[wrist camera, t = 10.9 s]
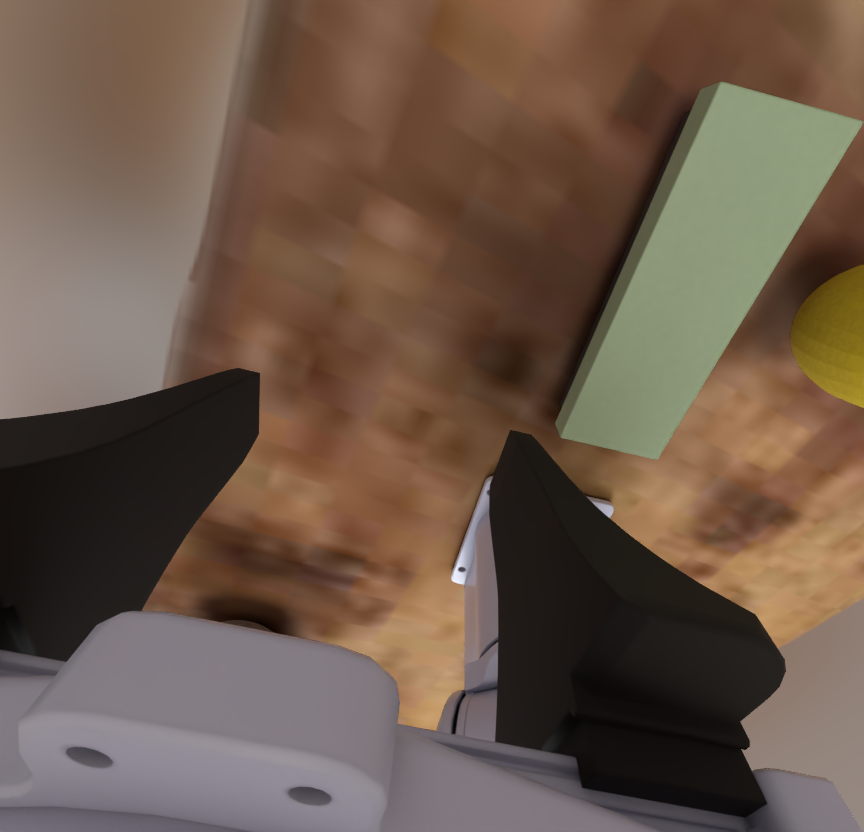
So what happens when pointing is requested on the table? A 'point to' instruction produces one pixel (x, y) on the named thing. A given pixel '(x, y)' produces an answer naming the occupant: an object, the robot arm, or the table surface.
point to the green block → (698, 261)
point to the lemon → (833, 336)
